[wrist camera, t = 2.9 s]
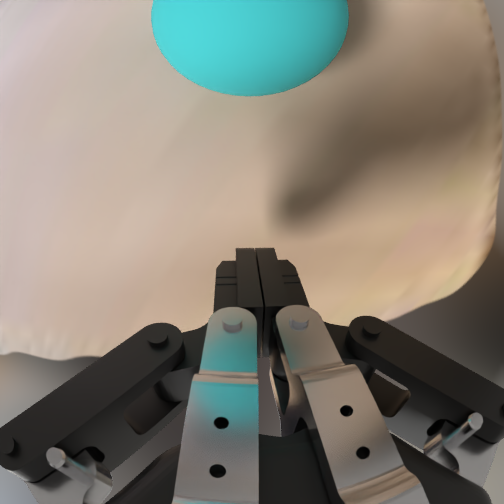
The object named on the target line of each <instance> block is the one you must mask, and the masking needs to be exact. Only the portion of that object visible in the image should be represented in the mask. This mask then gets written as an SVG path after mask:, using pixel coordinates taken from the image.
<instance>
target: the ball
mask: <svg viewBox="0 0 504 504" xmlns="http://www.w3.org/2000/svg"><path fill="white" fill-rule="evenodd" d="M348 21H349V12H348V4H347V0H154V1H153V6H152V11H151V22H152V28H153V33H154V37H155V40H156V43H157V45H158V47H159V49H160V50H161V52H162V54H163V55H164V56H165V58H166V59H167V60H168V62H169V63H170V64H171V65H172V66H173V67H174V68H175V69H176V70H177V71H178V72H179V73H180V74H182V75H183V76H185V77H186V78H187V79H189V80H191V81H192V82H194V83H196V84H198V85H200V86H202V87H205V88H207V89H210V90H213V91H217V92H220V93H224V94H230V95H237V96H263V95H271V94H276V93H280V92H284V91H287V90H290V89H292V88H295V87H297V86H299V85H301V84H303V83H305V82H307V81H309V80H310V79H312V78H313V77H315V76H316V75H318V74H319V73H320V72H321V71H323V70H324V69H325V68H326V67H327V66H328V65H329V64H330V62H331V61H332V60H333V59H334V58H335V56H336V55H337V53H338V52H339V50H340V48H341V47H342V44H343V42H344V39H345V36H346V32H347V28H348Z"/></svg>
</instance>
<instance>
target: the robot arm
mask: <svg viewBox="0 0 504 504" xmlns="http://www.w3.org/2000/svg"><path fill="white" fill-rule="evenodd" d="M260 350H261V353H262V357H269V358H270V364H271V366H270V380H271V384H272V388H273V392H274V397H275V400H276V405H277V409H278V413H279V417H280V423H281V437H276V436H268V435H262V434H258V377H257V358H259V357H260ZM376 369H377V370H379V371H381V372H382V373H384V374H385V375H387V376H389V377H390V378H392V379H394V380H395V381H397V382H398V383H400V384H402V385H404V386H405V387H407V388H408V390H402V389H400V388H399V387H397V386H395V385H393V384H392V383H391V382H389V381H387V380H386V379H384V378H382V377H381V376H379V375H377V374H376V373H374V372H375V370H376ZM186 407H187V412H186V418H185V424H184V430H183V436H182V443H181V444H180V445H177V446H175V447H173V448H171V449H169V450H167V451H165V452H164V453H163V454H161V455H160V456H159V457H157V458H156V459H155V460H154V461H153V462H152V463H151V464H150V465H149V466H147V467H146V468H145V469H144V470H143V471H142V472H141V473H140V474H139V475H138V476H136V478H134V480H132V481H131V482H130V483H129V484H128V485H127V486H125V487H124V488H123V489H122V490H121V491H120V492H118V493H117V494H116V495H115V496H114V497H112V498H111V499H110V500H109V501H107V502H106V503H105V504H492V503H491V499H490V497H489V495H488V493H487V492H486V491H485V490H484V489H483V488H482V487H483V485H484V483H485V480H486V478H487V475H488V473H489V470H490V467H491V465H492V462H493V459H494V456H495V453H496V450H497V446H498V443H499V441H500V440H501V439H503V438H504V389H503V388H501V387H500V386H498V385H496V384H494V383H493V382H491V381H489V380H487V379H486V378H484V377H482V376H480V375H479V374H477V373H475V372H473V371H471V370H469V369H468V368H466V367H464V366H463V365H461V364H459V363H457V362H455V361H454V360H452V359H450V358H448V357H446V356H445V355H443V354H441V353H439V352H438V351H436V350H434V349H432V348H431V347H428V346H427V345H425V344H423V343H422V342H420V341H418V340H416V339H414V338H413V337H411V336H409V335H407V334H405V333H404V332H402V331H400V330H398V329H396V328H395V327H393V326H391V325H389V324H388V323H386V322H384V321H382V320H380V319H378V318H376V317H372V316H360V317H357V318H355V319H354V320H352V322H351V323H350V325H349V327H347V326H340V325H334V324H329V323H326V322H324V321H323V320H322V318H321V316H320V315H319V313H318V312H316V311H315V310H314V309H312V308H310V306H309V304H308V301H307V298H306V295H305V292H304V289H303V287H302V284H301V281H300V278H299V277H298V273H297V270H296V268H295V266H294V265H293V264H291V263H290V262H289V261H288V260H277V256H276V252H275V249H274V248H255V249H254V248H236V261H222V262H221V263H220V265H219V266H218V267H217V269H216V282H215V296H214V312H213V314H212V315H211V317H210V318H209V321H208V323H207V324H206V325H204V326H202V327H201V328H198V329H195V330H192V331H188V332H183V333H181V331H180V330H179V329H178V328H177V327H176V326H174V325H172V324H168V323H154V324H151V325H148V326H146V327H144V328H143V329H141V330H140V331H139V332H137V333H136V334H134V335H133V336H131V337H130V338H128V339H127V340H126V341H124V342H123V343H121V344H120V345H118V346H117V347H116V348H114V349H113V350H111V351H110V352H108V353H107V354H106V355H104V356H103V357H101V358H100V359H98V360H97V361H96V362H94V363H93V364H91V365H90V366H88V367H87V368H86V369H84V370H83V371H81V372H80V373H78V374H77V375H75V376H74V377H73V378H71V379H70V380H68V381H67V382H65V383H64V384H63V385H61V386H60V387H58V388H57V389H55V390H54V391H53V392H51V393H50V394H48V395H47V396H46V397H44V398H43V399H41V400H40V401H38V402H37V403H35V404H34V405H33V406H31V407H30V408H28V409H27V410H25V411H24V412H22V413H21V414H20V415H18V416H17V417H15V418H14V419H12V420H11V421H10V422H8V423H7V424H5V425H4V426H2V427H1V428H0V465H1V466H2V467H4V468H5V469H7V470H8V471H10V472H11V473H13V474H15V475H16V476H18V477H19V478H21V479H22V480H23V481H24V482H25V483H26V484H27V486H28V488H29V489H30V491H31V492H32V494H33V496H34V497H35V499H36V500H37V502H38V503H39V504H102V503H103V501H104V499H105V498H106V497H107V496H108V495H109V493H110V492H111V490H112V486H113V480H112V476H111V473H110V472H111V471H112V470H114V469H115V468H116V467H118V466H119V465H120V464H121V463H123V462H124V461H125V460H126V459H128V458H129V457H130V456H131V455H132V454H134V453H135V452H136V451H137V450H138V449H140V448H141V447H142V446H143V445H144V444H146V443H147V442H148V441H149V440H150V439H151V438H153V437H154V436H155V435H156V434H157V433H158V432H159V431H161V430H162V429H163V428H164V427H165V426H166V425H167V424H168V423H170V422H171V421H172V420H173V419H174V418H175V417H176V416H177V415H178V414H179V413H181V412H182V411H183V410H184V409H185V408H186ZM389 430H390V431H392V432H393V433H395V434H397V435H398V436H400V437H401V438H403V439H405V440H406V441H408V442H410V443H411V444H413V445H415V446H417V447H418V448H420V449H422V450H423V453H424V454H423V453H421V452H420V451H418V450H417V449H415V448H413V447H412V446H410V445H409V444H407V443H406V442H404V441H403V440H401V439H399V438H398V437H397V436H395V435H393V434H391V433H390V432H389Z"/></svg>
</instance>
